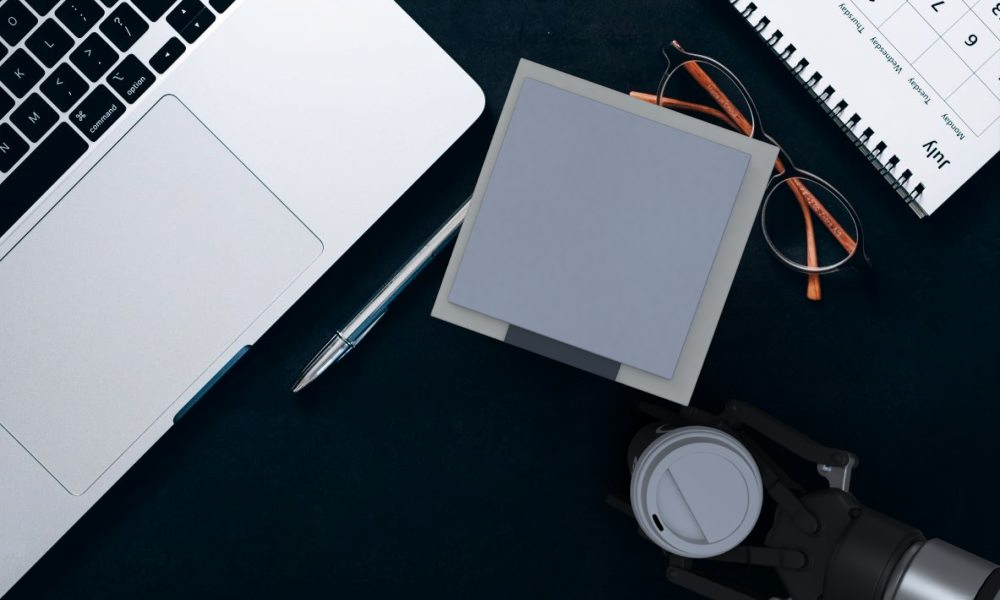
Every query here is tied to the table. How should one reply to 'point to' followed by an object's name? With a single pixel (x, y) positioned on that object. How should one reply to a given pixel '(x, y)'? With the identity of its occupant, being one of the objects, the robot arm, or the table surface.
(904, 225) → the table surface
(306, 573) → the table surface
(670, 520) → the coffee cup
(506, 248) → the scale
